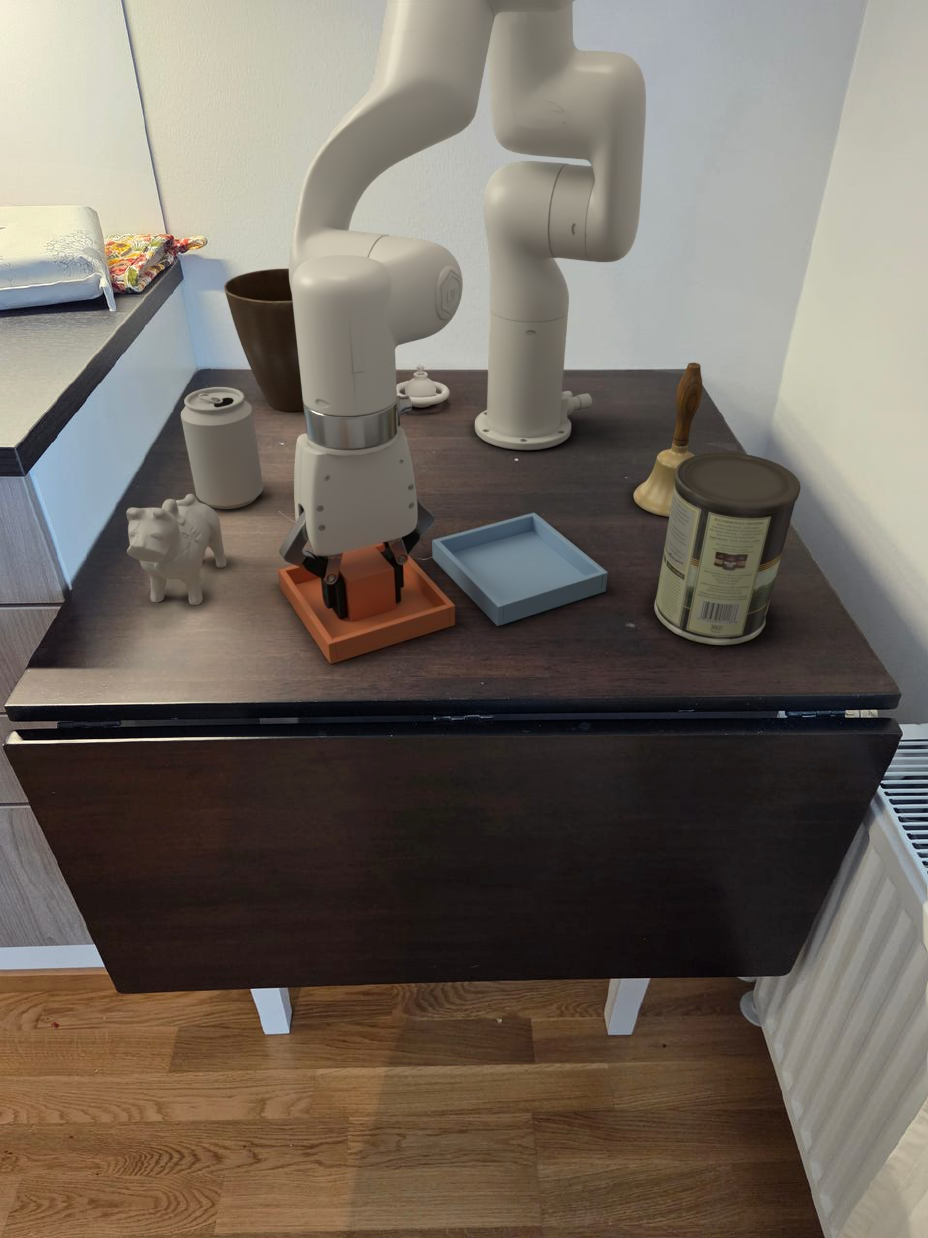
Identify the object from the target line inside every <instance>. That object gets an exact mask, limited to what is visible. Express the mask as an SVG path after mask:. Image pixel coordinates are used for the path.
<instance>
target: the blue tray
mask: <svg viewBox="0 0 928 1238" xmlns="http://www.w3.org/2000/svg"><path fill="white" fill-rule="evenodd" d="M431 542H432V543H431V545H432V549H431V551H432V559H433V561H435V563H436V564H437V565H438V566H439V567H440V568H441V569H442V570H443V571H444V572H445V573H446V575H448V576H449V578H451V579H452V580H453V581H454V583H455V584H456V585H457V586H458V587H459V588H460V589H461V590H462V591H463V592H464V593H465V594H466V595H467V596H468V597H469V598H470V599H471V600H472V602H473V603H474V604H475V605H476V606H477V607H478V608H479V609H480V610H481V611H482V612H483V613H484V614H485V615H486V616H487V617H488V618H489V619H490V620H491V622H492V623H494V625H495V626H496V627H499V626H500V627H501V626H503V625H506V624H509V623H512V622H516V621H518V620H521V619H524V618H528V617H530V616H533V615H537V614H540V613H543V612H546V611H549V610H553V609H556V608H559V607H561V606H565V605H567V604H571V603H574V602H577V601H580V600H583V599H586V598H590V597H592V596H596V595H599V594H602V593H605V592H607V583H608V574H609V572H608V571H607V570H605V568H603V567H602V566H601V565H599V564H598V563H597V562H596V561H595V560H593V559H592V558H591V557H590V556H589V555H587V554H586V553H584V552H583V551H582V550H581V549H580V548H578V547H577V546H576V545H575V544H574V543H572V542H571V541H570V540H569V539H568V538H566V537H565V536H564V535H563V534H561V533H560V531H558V530H557V529H555V528H554V527H553V526H552V525H551V524H549V523H548V522H547V521H546V520H545V519H543V518H542V517H541V516H539V515H538V514H537V513H536V512H531V513H527V514H524V515H520V516H517V517H513V518H509V519H505V520H501V521H498V522H494V523H490V524H487V525H483V526H480V527H479V526H478V527H475V528H471V529H469V530H464V531H461V532H457V533H453V534H449V535H446V536H443V537H438V538H435V539H432V540H431Z"/></svg>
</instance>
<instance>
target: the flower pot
mask: <svg viewBox="0 0 928 1238" xmlns="http://www.w3.org/2000/svg"><path fill="white" fill-rule="evenodd" d="M223 289H224V293H225V297H226V299H227V300H226V301H227V303H228V308H229V311H230V314H231V318H232V322H233V324H234V327H235V330H236V333H237V336H238V339H239V343H240V345H241V348H242V350H243V352H244V355H245V358H246V360H247V363H248V365H249V367H250V369H251V371H252V375H253V376H254V378H255V380H256V383H257V384H258V387H259V388H260V391H261V392H262V393H261V394H262V395H263V396H264V398H265V400H266V402H267V404H268V406H270V407H271V408H273V409H275V410H277V411H281V412H304V405H303V396H302V386H301V376H300V367H299V357H298V348H297V338H296V328H295V319H294V309H293V300H292V292H291V287H290V282H289V268H270V269H261V270H255V271H250V272H246V273H242V274H239V275H237V276H234V277H231V278H230V279H229V280H227V281H226V282H225V283H224V286H223Z"/></svg>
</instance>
